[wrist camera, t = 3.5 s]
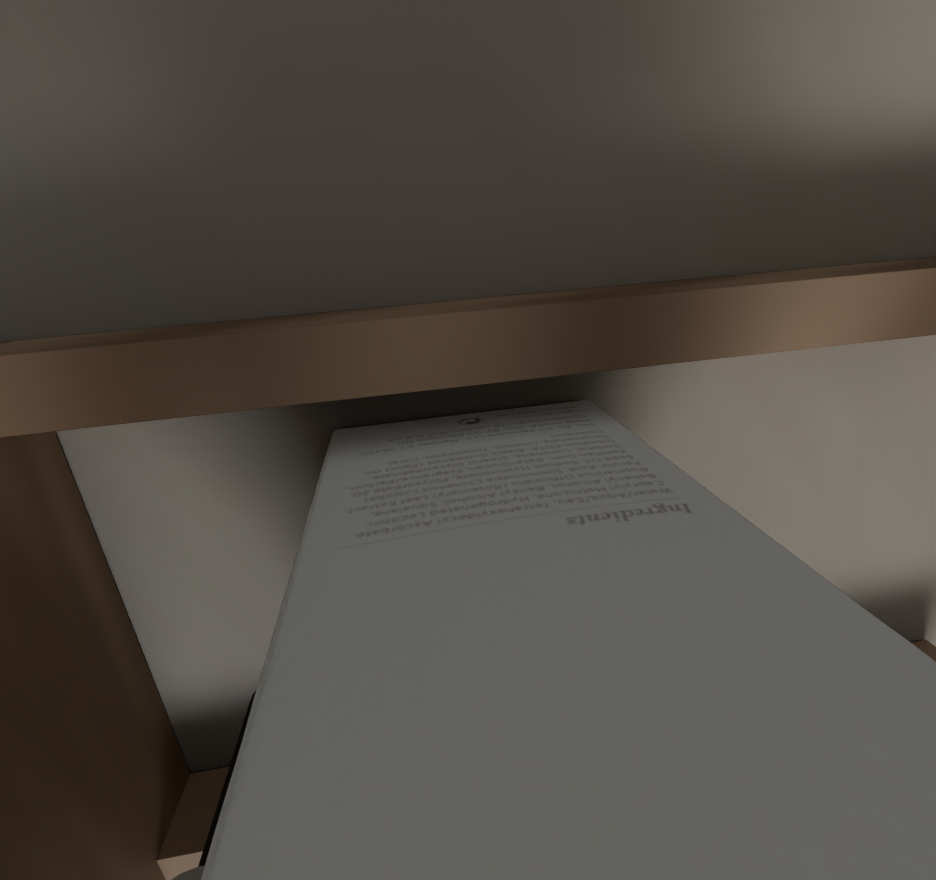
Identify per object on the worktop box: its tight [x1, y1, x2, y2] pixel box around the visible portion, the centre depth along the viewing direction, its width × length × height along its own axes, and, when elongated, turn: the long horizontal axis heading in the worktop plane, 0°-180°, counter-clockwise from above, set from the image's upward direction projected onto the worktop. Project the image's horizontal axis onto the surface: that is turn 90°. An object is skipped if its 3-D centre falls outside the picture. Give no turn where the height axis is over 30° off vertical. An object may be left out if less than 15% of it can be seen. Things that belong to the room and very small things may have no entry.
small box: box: [201, 400, 936, 880], centre depth 7 cm, size 8×6×10 cm
